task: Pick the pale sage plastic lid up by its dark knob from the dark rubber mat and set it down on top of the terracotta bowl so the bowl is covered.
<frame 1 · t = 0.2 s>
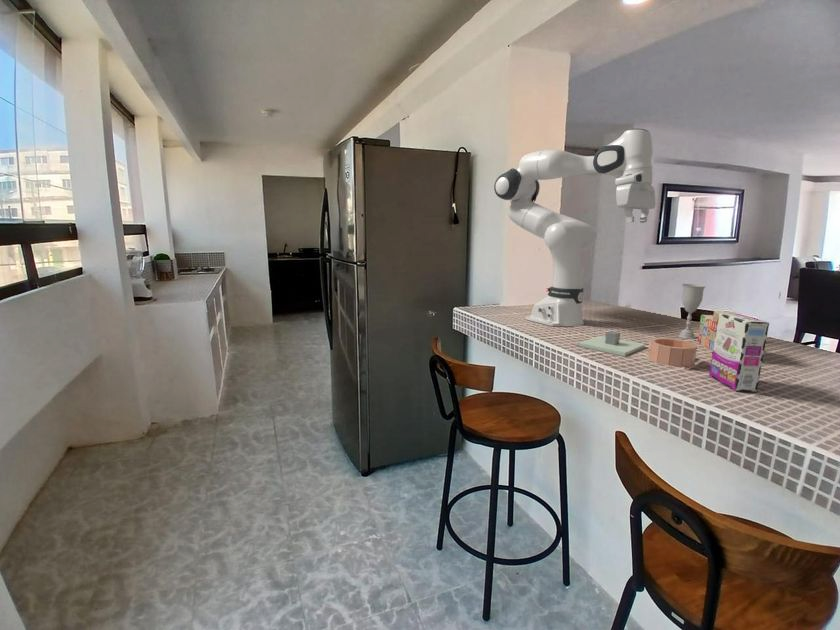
hand: (637, 222, 142), 39 cm above the countertop, tool pointing down, fingers open, 8 cm apart
bowl: (670, 362, 118), on the countertop
candy bar box: (731, 384, 102), on the countertop
lid: (611, 346, 131), point 1 cm above the countertop, touching mat
chalice: (686, 337, 147), on the countertop
mat: (611, 348, 132), on the countertop
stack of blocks: (721, 351, 130), on the countertop
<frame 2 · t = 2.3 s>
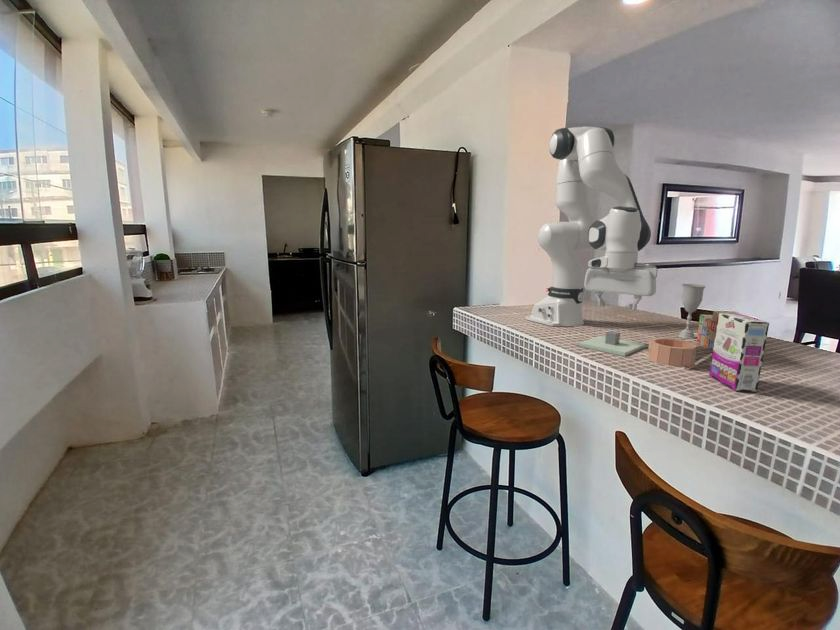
hand: (616, 308, 128), 13 cm above the countertop, tool pointing down, fingers open, 8 cm apart
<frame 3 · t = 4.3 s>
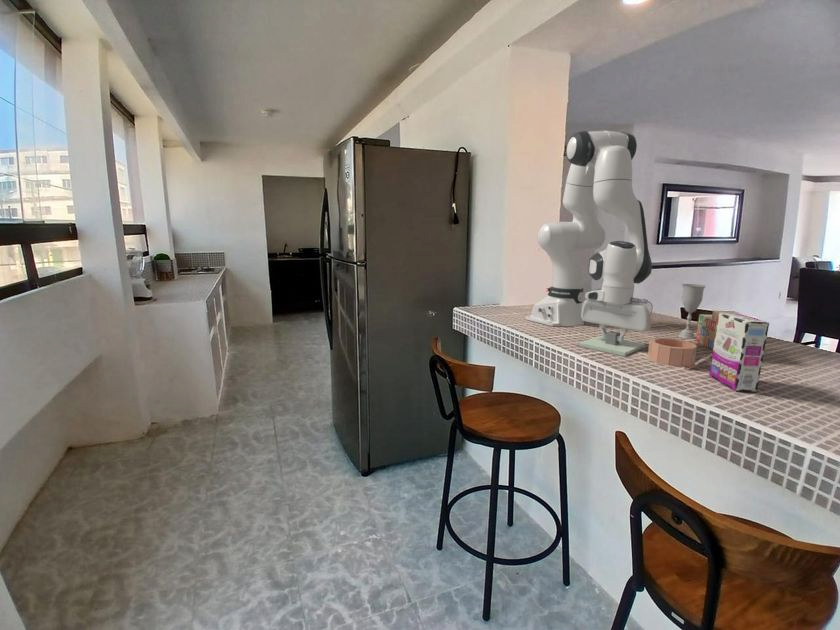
hand: (612, 340, 131), 3 cm above the countertop, tool pointing down, fingers closed on lid, 3 cm apart
lid: (611, 346, 131), point 1 cm above the countertop, touching gripper, mat
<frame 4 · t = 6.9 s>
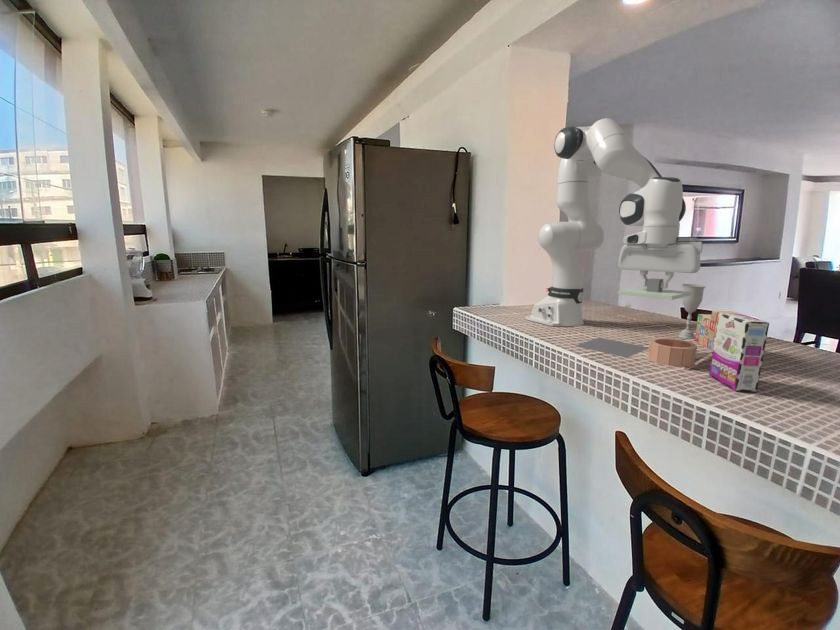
hand: (654, 287, 119), 20 cm above the countertop, tool pointing down, fingers closed on lid, 3 cm apart
lid: (654, 295, 119), point 18 cm above the countertop, touching gripper
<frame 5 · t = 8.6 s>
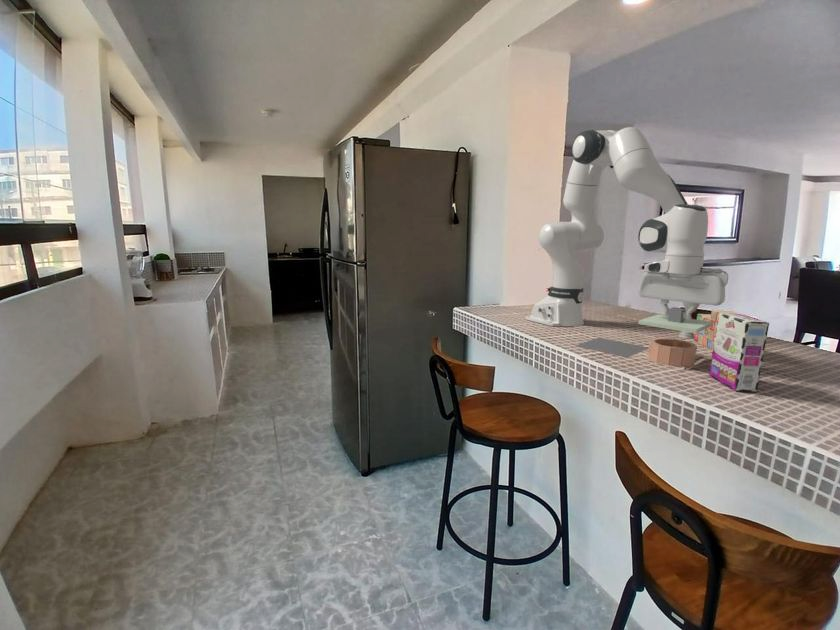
hand: (676, 317, 116), 13 cm above the countertop, tool pointing down, fingers closed on lid, 3 cm apart
lid: (675, 324, 116), point 11 cm above the countertop, touching gripper
when the fingers open (9 cm above the countertop, at t = 9.9 s): lid drops 1 cm, resting on bowl.
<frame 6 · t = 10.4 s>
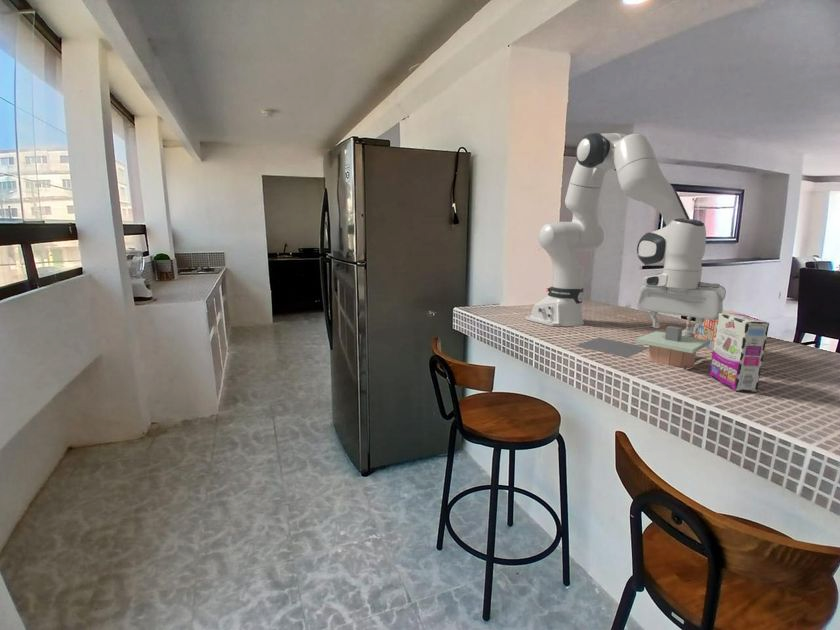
hand: (674, 330, 117), 9 cm above the countertop, tool pointing down, fingers open, 8 cm apart
lid: (672, 343, 117), point 5 cm above the countertop, touching bowl
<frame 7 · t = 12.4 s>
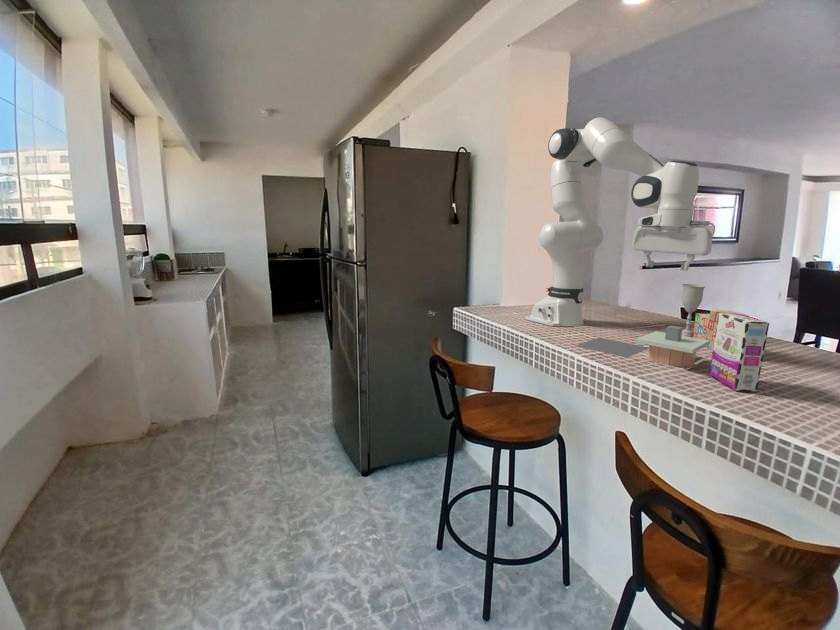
hand: (666, 268, 124), 25 cm above the countertop, tool pointing down, fingers open, 8 cm apart
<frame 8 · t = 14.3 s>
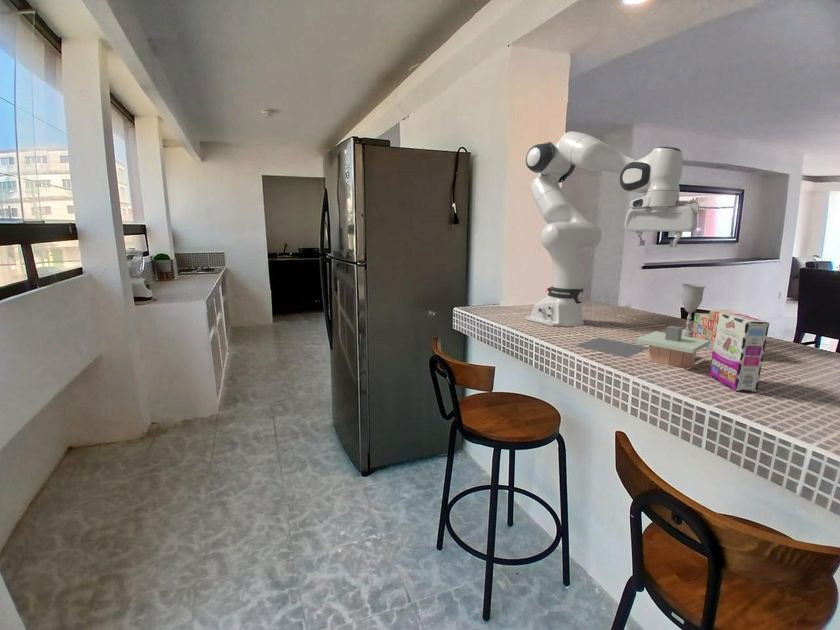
hand: (656, 246, 135), 31 cm above the countertop, tool pointing down, fingers open, 8 cm apart
at the end: lid 0.0 cm off-centre on the bowl, point 5.5 cm above the bowl's base; lid tilted 0°; the gripper is holding nothing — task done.
